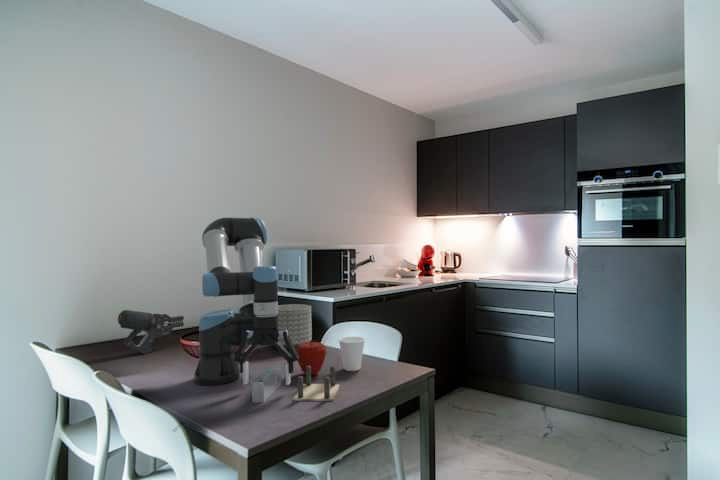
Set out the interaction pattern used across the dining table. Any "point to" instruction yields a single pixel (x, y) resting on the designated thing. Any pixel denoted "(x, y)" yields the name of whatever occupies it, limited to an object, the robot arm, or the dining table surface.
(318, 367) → the apple
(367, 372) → the dining table surface
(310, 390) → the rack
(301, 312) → the planter
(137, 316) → the gun
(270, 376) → the grey stepped post
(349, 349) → the cup
